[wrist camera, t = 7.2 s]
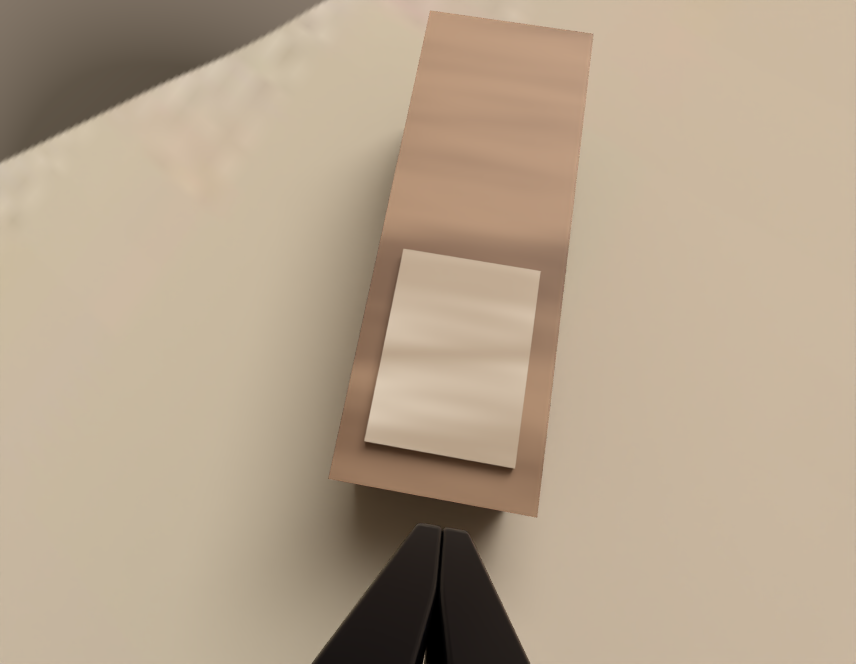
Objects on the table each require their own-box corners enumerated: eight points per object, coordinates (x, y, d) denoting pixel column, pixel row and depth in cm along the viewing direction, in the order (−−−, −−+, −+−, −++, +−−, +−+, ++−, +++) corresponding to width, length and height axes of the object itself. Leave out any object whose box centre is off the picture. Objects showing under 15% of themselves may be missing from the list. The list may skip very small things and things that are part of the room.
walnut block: (539, 518, 12) (596, 25, 15) (325, 478, 12) (429, 2, 16) (506, 503, 17) (554, 136, 20) (356, 475, 17) (429, 117, 21)
